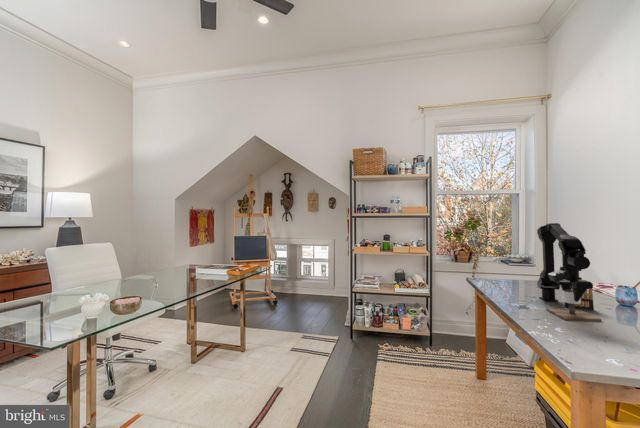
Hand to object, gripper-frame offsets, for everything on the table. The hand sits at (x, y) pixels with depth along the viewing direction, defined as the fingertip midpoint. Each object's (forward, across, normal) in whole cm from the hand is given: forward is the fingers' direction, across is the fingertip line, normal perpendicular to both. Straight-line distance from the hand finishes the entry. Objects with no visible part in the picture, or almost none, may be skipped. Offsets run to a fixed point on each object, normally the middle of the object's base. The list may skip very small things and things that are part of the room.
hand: (571, 299), depth 134 cm
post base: (+7, 0, 0) cm, 7 cm away
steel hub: (+1, 0, 0) cm, 1 cm away
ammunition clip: (+8, -12, +10) cm, 17 cm away
